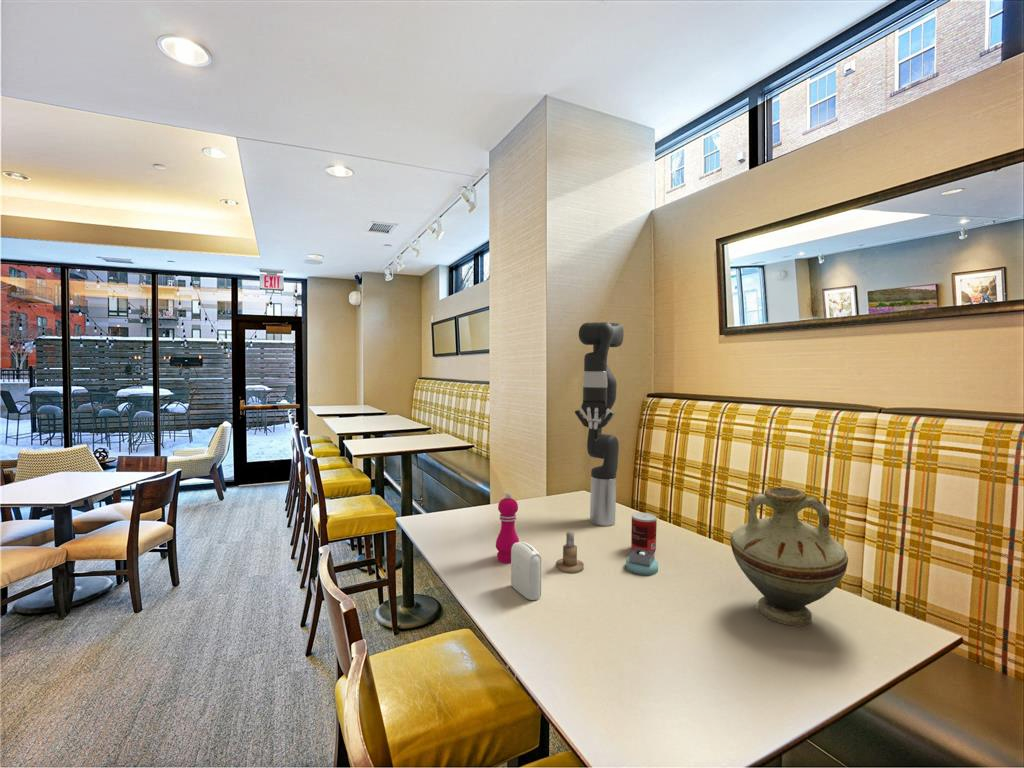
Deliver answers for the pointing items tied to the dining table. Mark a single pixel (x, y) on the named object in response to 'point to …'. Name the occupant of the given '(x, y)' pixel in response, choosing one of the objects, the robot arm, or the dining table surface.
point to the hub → (642, 567)
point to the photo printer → (526, 570)
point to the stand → (569, 557)
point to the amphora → (788, 555)
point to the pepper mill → (506, 528)
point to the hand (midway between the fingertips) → (594, 440)
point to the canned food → (643, 531)
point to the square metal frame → (641, 557)
